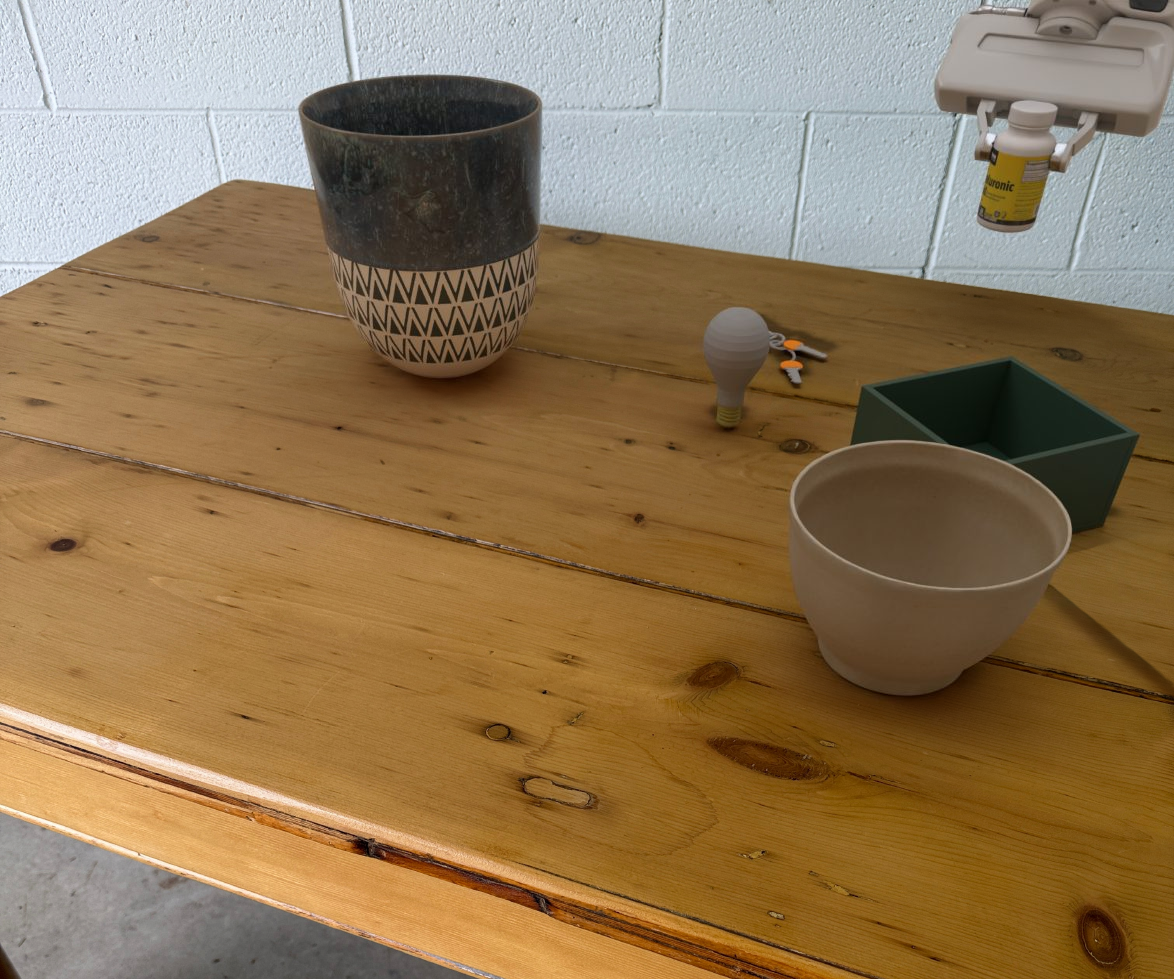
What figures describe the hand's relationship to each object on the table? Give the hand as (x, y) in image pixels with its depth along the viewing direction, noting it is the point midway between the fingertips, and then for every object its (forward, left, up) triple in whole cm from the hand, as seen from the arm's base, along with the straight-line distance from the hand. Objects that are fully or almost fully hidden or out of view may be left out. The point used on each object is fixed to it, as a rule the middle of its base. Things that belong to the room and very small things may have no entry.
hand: (1019, 163), depth 96 cm
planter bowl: (+39, +42, -15) cm, 59 cm away
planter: (+53, -11, -15) cm, 56 cm away
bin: (+22, +28, -15) cm, 38 cm away
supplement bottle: (-1, 0, -6) cm, 6 cm away
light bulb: (+34, +10, -15) cm, 38 cm away
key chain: (+23, -1, -15) cm, 27 cm away
